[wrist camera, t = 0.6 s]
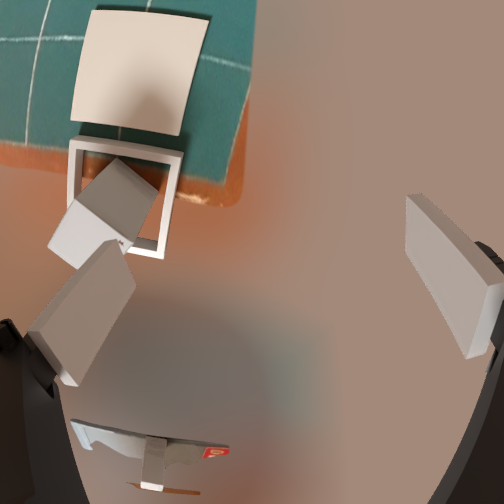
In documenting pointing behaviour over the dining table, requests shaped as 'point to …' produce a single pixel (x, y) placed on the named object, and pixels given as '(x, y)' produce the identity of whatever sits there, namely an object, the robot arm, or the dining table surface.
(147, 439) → the skincare box
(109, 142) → the white square frame
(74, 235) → the supplement box
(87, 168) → the dining table surface
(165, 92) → the cream coaster
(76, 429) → the dining table surface
